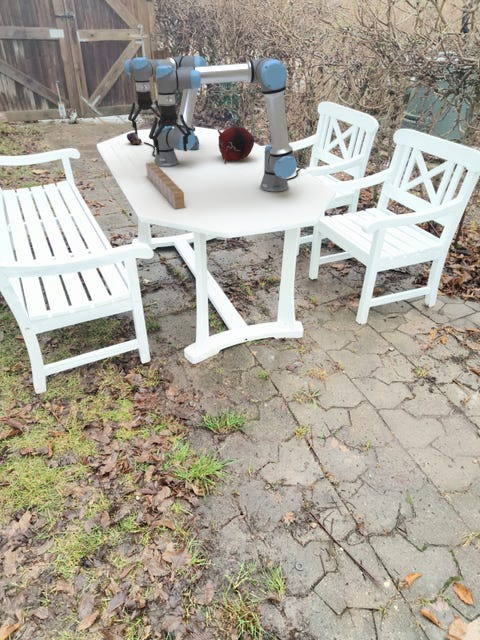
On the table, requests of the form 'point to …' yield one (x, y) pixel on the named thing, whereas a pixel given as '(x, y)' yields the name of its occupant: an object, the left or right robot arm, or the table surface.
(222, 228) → the table surface
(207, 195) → the table surface
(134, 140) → the rock
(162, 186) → the post
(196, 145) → the koala plush
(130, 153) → the table surface
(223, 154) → the decorative skull
